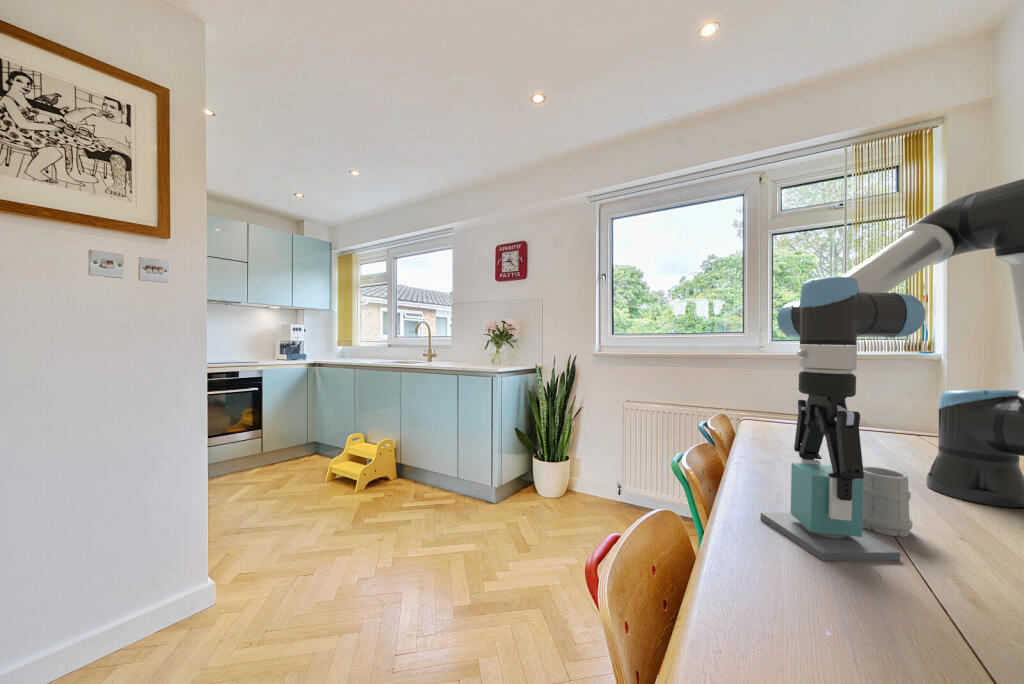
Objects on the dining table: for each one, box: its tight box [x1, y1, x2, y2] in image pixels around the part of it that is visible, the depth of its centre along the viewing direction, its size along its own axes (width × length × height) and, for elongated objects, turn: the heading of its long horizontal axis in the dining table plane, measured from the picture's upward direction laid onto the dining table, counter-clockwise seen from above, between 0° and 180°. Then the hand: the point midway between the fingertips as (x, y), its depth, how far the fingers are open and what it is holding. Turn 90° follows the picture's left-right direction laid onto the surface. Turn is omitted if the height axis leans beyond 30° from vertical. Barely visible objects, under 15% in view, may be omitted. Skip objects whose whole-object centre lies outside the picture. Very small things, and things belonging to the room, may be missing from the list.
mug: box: [862, 466, 913, 538], centre depth 73 cm, size 8×12×12 cm, turn 28°
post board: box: [760, 512, 901, 562], centre depth 67 cm, size 12×14×8 cm
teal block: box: [790, 462, 863, 537], centre depth 67 cm, size 7×7×9 cm
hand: (823, 506), depth 67 cm, fingers open, 8 cm apart
